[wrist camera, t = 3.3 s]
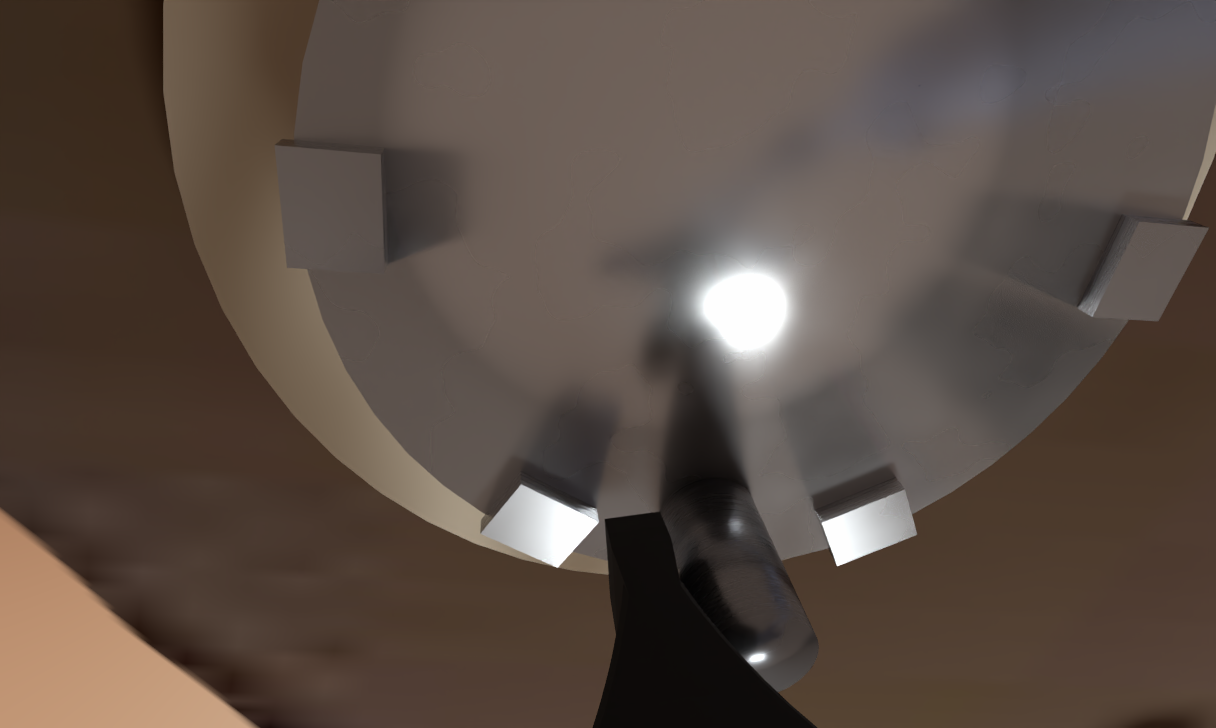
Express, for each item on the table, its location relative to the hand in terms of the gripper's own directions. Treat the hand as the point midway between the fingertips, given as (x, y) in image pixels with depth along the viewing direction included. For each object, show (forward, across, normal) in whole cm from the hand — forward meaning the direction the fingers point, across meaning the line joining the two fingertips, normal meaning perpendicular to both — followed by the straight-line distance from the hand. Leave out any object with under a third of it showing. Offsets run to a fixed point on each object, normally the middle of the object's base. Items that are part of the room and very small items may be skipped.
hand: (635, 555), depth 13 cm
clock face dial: (+3, -3, -5) cm, 7 cm away
